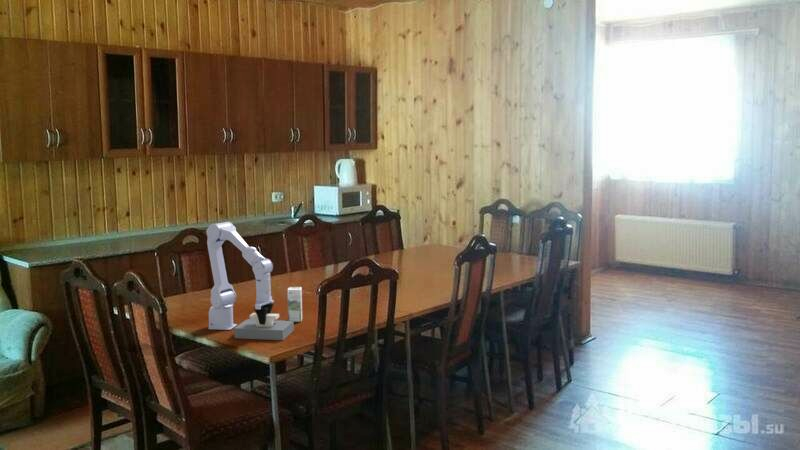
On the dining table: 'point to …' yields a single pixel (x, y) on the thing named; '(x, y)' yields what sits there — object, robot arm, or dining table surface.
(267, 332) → the slotted board
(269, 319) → the tee block
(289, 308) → the syrup box
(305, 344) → the dining table surface
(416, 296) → the dining table surface
